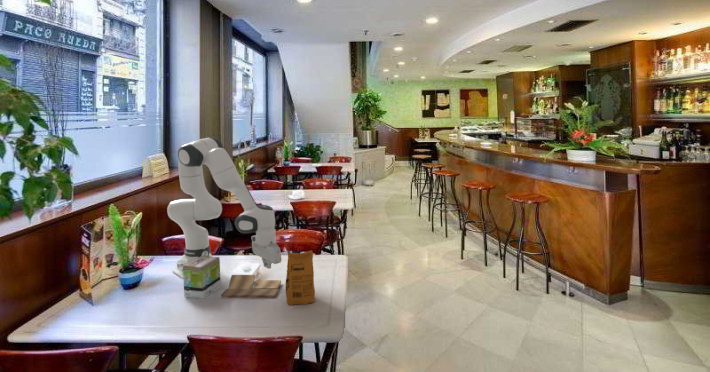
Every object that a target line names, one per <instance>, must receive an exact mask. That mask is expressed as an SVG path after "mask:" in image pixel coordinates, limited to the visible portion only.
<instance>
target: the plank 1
mask: <svg viewBox="0 0 710 372" xmlns="http://www.w3.org/2000/svg"><path fill="white" fill-rule="evenodd" d="M255 278H256V275H255V274H231V275H230V280H229V284H228V287H227V289H253V288H254V283H255Z"/></svg>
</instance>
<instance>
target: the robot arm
mask: <svg viewBox="0 0 710 372" xmlns="http://www.w3.org/2000/svg"><path fill="white" fill-rule="evenodd" d="M177 156H178V161H177V162H178V165H177V166H178V170H177V171H178V177H179V185H180V190H181V191H182V192H183V193H184V194H187V195H190V196H191V197H192V198H180V199H175V200H173V201H170V202H169V204H168V205H167V208H166V210H167V211H166V212H167V216H168V218H169V219H170V220H171V221H174V222H175V223H176V224H178V226H179V227H180V228H181V230H182V231H183V235H184V240H185V241H184V242H185V247H184V248H183V251H184V253H183V255H182V256H181V257H180V258H179V259H177V262H176V267H175V268H174V269H172V273H173V274H175V275H176V276H177V277H180V279H182V280H184V279H183V266H184V265H185V264H187V263H189V262H191V261H193V260H195V259H197V258H198V257H200V256H210V257H213V255H212V253H211V245H210V240H209V238H210V237H209V232H208V229H207V228H205V227H203V226H201V225H199V224H197V222H196V221H206V220H207V221H208V220H213V219H217V218H219V217H220V216H221V214H222V212H223V205H222V203H221V202H220V200H219V199H218V198H216V197H214V196H213V195H212V194H210V192H209V191H208V189H207V187H206V184H205V178H204V169H203V165H205V166H207V168H208V169H209V172H210V175H211V176H212V179H213V181H214V182H215V184H216V185H217V186H218V188H220V189H221V190H222V191H227V192H231V193H232V194H234V195H235V196H236V198H237V199H238V201H239V203H240V204H241V206H242V208H243V210H244V211H243V212H242V213H240V214H239V215H238V216H236V218H235V221H234V225H235V228H236V230H237V231H238V232H240V233H241V234H253V233H255V235H252V236H251V241H252V242H251V246H252V247H251V248H252V253H253V254H254V255H256V256H257V257H260V258H261V260H262V264H263V268H266V269H268V270H269V269H272V264H274V265H277V264H280V263H282V252H281V247H279V245H278V244H277V243H276V242H277V240H276V239H277V235H276V229H275V226H276V218H275V217H276V216H275V212H274V208H273V207H272V206H270V205H268V204H259V205H258V204H257V203H256V201H255V198H254V197H253V195H252V194H251V192H250V190H249V188H248V187H247V185H246V183H245V182H244V181H243V179H242V178H241V175H240V173H239V172H238V169H237V168H236V166H235V163H234V161H233V160H232V158H231V156H230V155H229V153H228V152H227V151H226V149H225V148H224V145H223V143H222V142H221V140H220V139H219V138H217V137H216V136H215V137H214V136H209V137H205V138H200V139H196V140H194V141H190V142H188V143H185V144H183V145H181V146H180V147H179V149H178V150H177Z"/></svg>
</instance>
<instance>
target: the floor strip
mask: <svg viewBox="0 0 710 372" xmlns="http://www.w3.org/2000/svg"><path fill="white" fill-rule="evenodd" d="M278 293H279V289H254V288H252V289H228V288H225V290H224V291H223V292H222V293H221V294H220V299H225V298H226V299H230V298H231V299H236V298H237V299H275V298H276V297H277V295H278Z"/></svg>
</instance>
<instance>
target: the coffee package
mask: <svg viewBox="0 0 710 372" xmlns="http://www.w3.org/2000/svg"><path fill="white" fill-rule="evenodd" d="M313 259H314V253H313V250H309V251H304V252H301V253H299V252H287V265H286V277H285V297H286V302H287V305H289V306H295V305H307V304H311V303H312V304H313V303H314V302H315V298H316V296H315V295H316V291H315V281H314V278H315V277H314V276H315V274H314V273H315V271H314V262H313V261H314V260H313Z"/></svg>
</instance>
